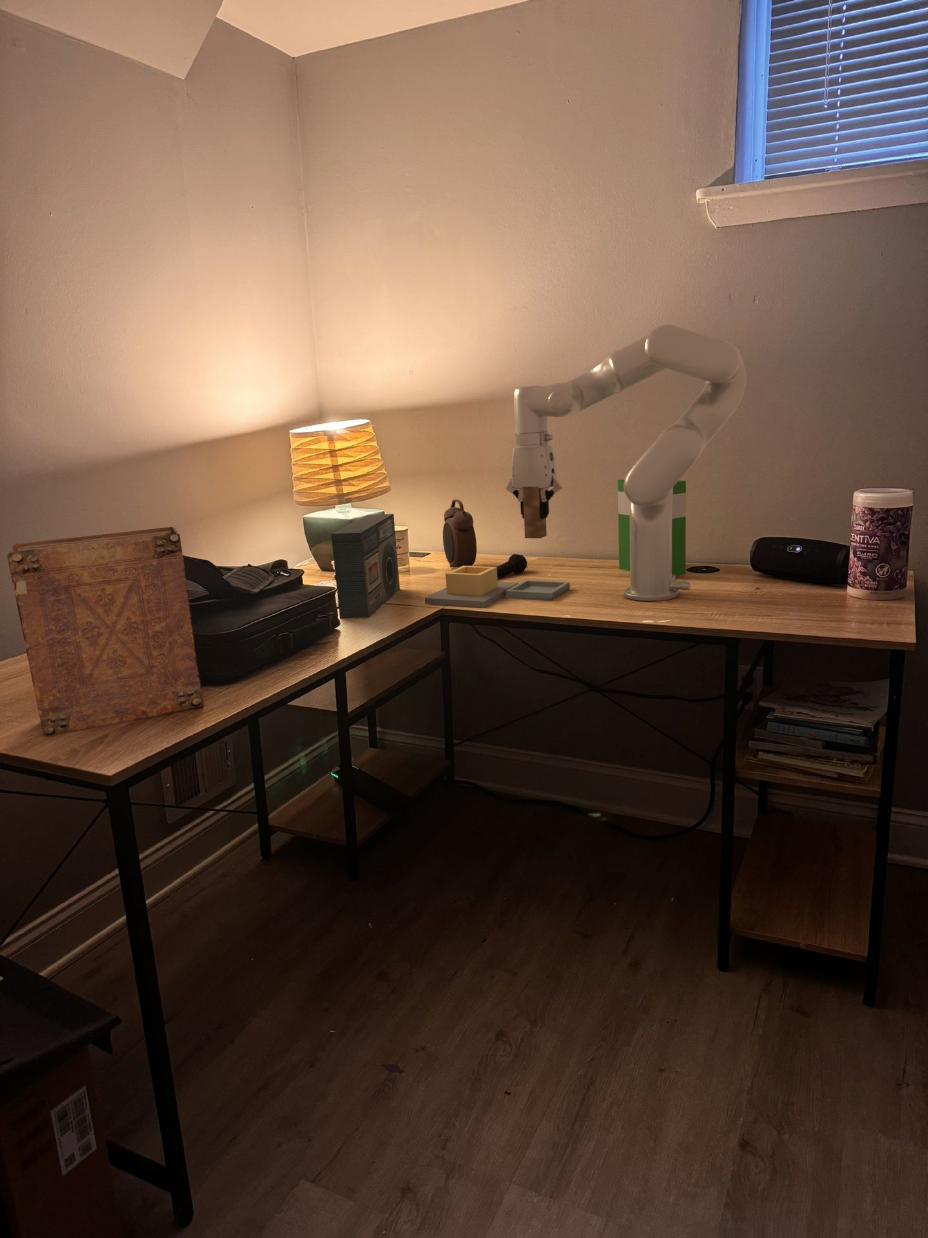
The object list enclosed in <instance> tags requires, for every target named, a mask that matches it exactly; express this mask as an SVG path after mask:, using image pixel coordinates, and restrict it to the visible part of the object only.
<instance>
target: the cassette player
mask: <svg viewBox="0 0 928 1238" xmlns="http://www.w3.org/2000/svg"><path fill="white" fill-rule="evenodd" d="M395 525H396V524H395V513H385V514H384V513H383V514H382V513H381V514H379V513H378V514H367V515H364V516H363V517H361V518H358V519H357V520H354V521H353V522H351V523H349V524H347V525H345V526H343V527H342V528H339V529H337V530H336V531H334V532H331V534H330V536H331V537H330V538H331V547H332V557H333V564H334V575H335V585H336V594H337V603H338V613H339V619H370V617H371V616H372V615H374V614H375V613H376V612H377V611H378V610H379V609H380V608H381V607H382V606H384V604H386V603H387V602H388V601H390V599H391V598H392V597H393V596H394V595H395V594H396V593H397V592H399V591H400V589H401V584H400V575H399V574H400V573H399V564H398V561H399V560H398V549H397V542H396V541H397V540H396V527H395Z"/></svg>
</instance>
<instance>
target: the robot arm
mask: <svg viewBox="0 0 928 1238" xmlns="http://www.w3.org/2000/svg"><path fill="white" fill-rule="evenodd" d="M666 370H670V371H674V372H677V373H680V374H683V375H687V376H690V377H692V378H693V377H694V378H696V379H699V380H703V381H705V383H704V387H703V389H702V390H701V391H700V392H699V394H698V395H697V396H696V397H695V399H694V400H693V401H692V402H691V403H690V405H689V406H688V407H687V408H686V409H685V411H684V412H683V413H682V414H681V415H680V416H679V417H678V418H677V419H676V420H675V421H674V422H673V423H672V424H670V425H668V426H667V427H666V428H664V429H663V430H662V431H661V432H660V434H659V435H658V436H657V437H656V439H654V440H653V442H652V443H651V444H650V446H649V447H647V449H646V450H645V451H644V452H643V454H642V455H641V456H640V457H639V459H637V461H636V462H635V463H634V464H633V465H632V466H631V468H630V469H629V470H628V472H626V475H625V477H624V479H623V480H624V492H625V495H626V496H627V498H628V499H629V501H630V571H629V572H630V573H629V575H630V578H629V579H630V584H629V585H630V586H629V587H626V588H625V589H624V590H623V596H624V598H627V599H629V600H633V601H634V600H635V601H640V602H641V601H643V602H656V601H657V602H659V601H666V600H667V601H668V600H671V599H675V598H677V596H679V591H690V590H691V581H688V580H678V579H676V576H675V575H672V498H673V486H674V485H675V484H676V483H677V482H678V481H679V480H681V479H682V478H683V476H685V474H686V473H687V472H688V470H690V469H691V467H693V465H694V464H695V463H696V461H697V460H699V458H700V456H701V455H702V453H703V451H704V449H705V448H706V447H707V445H708V444H709V443H710V442H711V440H712V439H714V437H715V436H716V435H717V434H718V432H719V431H721V429H722V428H723V427H724V425H725V424H726V423H727V421H729V419H730V418H731V416H732V415H733V414H734V413H735V412H736V410H737V409H738V408H739V405H740V403H741V401H742V399H743V397H744V394H745V391H746V386H747V371H746V366H745V363H744V359H743V357H742V354H741V352H740V350H739V349H738V348H737V347H736V346H735V345H734V344H733V343H731V342H729V341H727V340H723V339H720V338H716V337H712V336H709V335H706V334H705V335H704V334H701V333H699V332H695V331H691V330H688V329H686V328H682V327H679V326H677V325H674V324H668V323H667V324H661V325H659V326H657V327H655V328H653V329H652V330H651V331H650V332H649V334H647V335H645V336H644V337H641V338H640V339H638V340H635V341H634V342H631V344H630V343H629V344H628V345H626V346H624V347H622V348H620V349H617V350H616V351H614V352H611V353H610V354H609V355H607V356H606V357H605V358H604V359H603V361H601V362H600V363H599V364H598V365H596V366H595V367H593V368H591V369H590V370H588V371H586V372H585V373H582V374H581V375H579V376H576V377H575V378H573V379H571V380H569V381H567V382H559V383H553V384H549V385H543V386H542V385H525V386H518V387H516V388H515V390H514V391H513V407H514V408H513V409H514V427H515V429H514V431H515V446H514V447H513V449H512V458H511V473H510V474H511V476H510V477H511V479H510V480H509V482H508V484H507V485H506V490H507V491H508V492H509V493H510V494H513V496H514V497H515V498H516V499H517V500H518V502H519V503H520V504H519V505H520V506H519V507H520V514H521V517H522V519H523V520H524V507H523V486H524V487H535V486H538V488H539V489H540V495H541V502H540V518H541V519H544V518H546V519H547V518H548V516H549V515H550V505H549V504H550V503H549V502H550V501H551V499H552V497H554V495H556V494H557V493H558V492H559V491H560V490H562V489H563V485H562V484H561V483H560V481H559V480H558V478H557V477H558V476H557V467H556V460H555V455H554V450H553V445H552V444H550V445H549V443H550V442H551V441H554V435H553V434H550V432H549V431H548V417H553V418H564V417H567V416H573V415H575V414H577V413H579V412H581V411H583V410H586V409H588V408H590V407H592V406H593V405H595V404H597V403H598V404H599V403H600V402H602V401H603V400H606V399H608V398H609V397H612V396H614V395H617V394H620V393H622V392H624V391H626V390H627V389H630V388H631V387H634V386H636V385H638V384H640V383H641V382H644V381H646V380H648V379H650V378H653V377H654V376H656V375H659V374H661V373H662V372H665V371H666ZM551 487H552V488H551ZM550 488H551V489H550Z"/></svg>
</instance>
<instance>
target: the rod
mask: <svg viewBox="0 0 928 1238" xmlns="http://www.w3.org/2000/svg"><path fill="white" fill-rule="evenodd" d="M540 502H541V495H540V489H539V488H538V486H535V487H524V486H523V507H524V519H523V522H524V523H523V525H524V539H542V538H544V537H547V536H548V535H547V518H544V519H541V518H540Z"/></svg>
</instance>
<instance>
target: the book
mask: <svg viewBox="0 0 928 1238" xmlns="http://www.w3.org/2000/svg"><path fill="white" fill-rule="evenodd" d="M183 555H184V554H183V546H182V541H181V534H180V533H179V531H178V530H177V529H176V527H174V526H168V527H159V528H157V527H156V528H149V529H139V530H131V531H122V532H120V531H119V532H113V533H103V534H94V535H93V534H92V535H86V536H85V535H83V536H76V537H66V538H57V539H47V540H39V541H38V540H37V541H29V542H19V543H15V544H13V546H12V551H8V553H7V555H6V556H7V557H6V558H7V562H8V567H9V572H10V577H11V580H12V581H11V582H12V587H13V592H14V597H15V601H16V606H17V611H18V617H19V621H20V625H21V632H22V636H23V641H24V642H23V643H24V646H25V651H26V656H27V660H28V665H29V672H30V675H31V680H32V686H33V691H34V695H35V700H36V705H37V711H38V714H39V721H40V725H41V730H42V735H43V736H44V737H50V736H51V737H52V736H56V735H57V736H58V735H63V734H68V733H73V732H78V731H82V730H83V731H84V730H89V729H94V728H100V727H105V726H111V725H115V724H120V723H126V722H131V721H138V720H142V719H147V718H148V719H149V718H151V717H159V716H165V715H169V714H174V713H179V712H184V711H190V710H196V709H201V708H204V707H205V702H204V696H203V695H204V694H203V688H202V687H203V686H202V681H201V680H202V679H201V675H200V666H199V660H198V652H197V646H196V639H195V638H196V637H195V633H194V632H195V631H194V625H193V619H192V618H193V616H192V611H191V605H190V597H189V591H188V590H189V589H188V583H187V577H186V576H187V575H186V569H185V562H184V556H183Z"/></svg>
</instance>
